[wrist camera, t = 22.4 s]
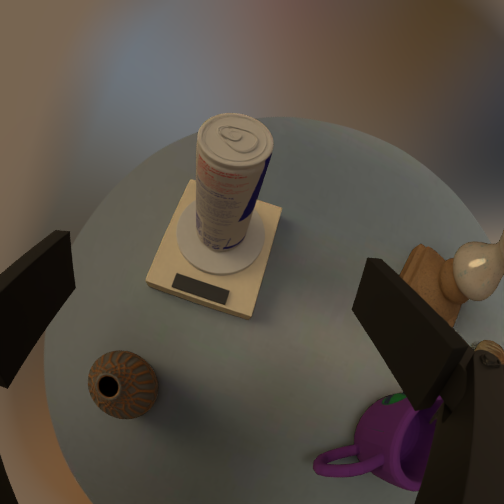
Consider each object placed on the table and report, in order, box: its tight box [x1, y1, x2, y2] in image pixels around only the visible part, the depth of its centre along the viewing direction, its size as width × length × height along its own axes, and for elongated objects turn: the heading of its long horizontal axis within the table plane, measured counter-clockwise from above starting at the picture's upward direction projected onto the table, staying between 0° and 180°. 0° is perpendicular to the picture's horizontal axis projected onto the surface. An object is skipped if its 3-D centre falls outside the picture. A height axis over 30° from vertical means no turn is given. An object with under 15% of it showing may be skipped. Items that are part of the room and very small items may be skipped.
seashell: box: [475, 340, 504, 365], centre depth 32 cm, size 9×7×8 cm
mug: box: [313, 392, 443, 491], centre depth 26 cm, size 17×11×10 cm, turn 97°
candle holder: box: [399, 230, 504, 328], centre depth 28 cm, size 11×11×24 cm
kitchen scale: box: [145, 179, 282, 320], centre depth 35 cm, size 12×14×3 cm
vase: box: [88, 351, 158, 419], centre depth 25 cm, size 7×7×9 cm
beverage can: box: [196, 113, 274, 251], centre depth 28 cm, size 6×6×15 cm
